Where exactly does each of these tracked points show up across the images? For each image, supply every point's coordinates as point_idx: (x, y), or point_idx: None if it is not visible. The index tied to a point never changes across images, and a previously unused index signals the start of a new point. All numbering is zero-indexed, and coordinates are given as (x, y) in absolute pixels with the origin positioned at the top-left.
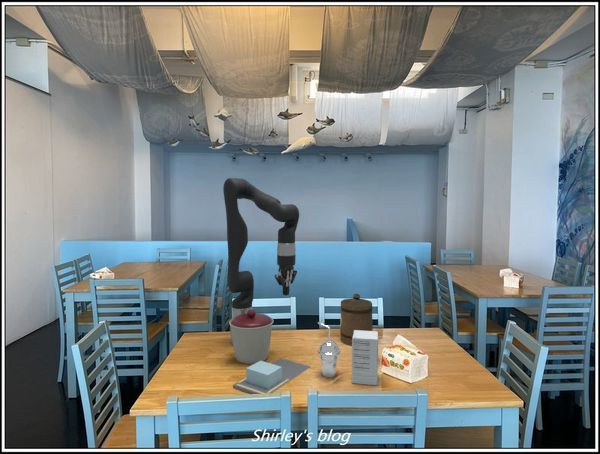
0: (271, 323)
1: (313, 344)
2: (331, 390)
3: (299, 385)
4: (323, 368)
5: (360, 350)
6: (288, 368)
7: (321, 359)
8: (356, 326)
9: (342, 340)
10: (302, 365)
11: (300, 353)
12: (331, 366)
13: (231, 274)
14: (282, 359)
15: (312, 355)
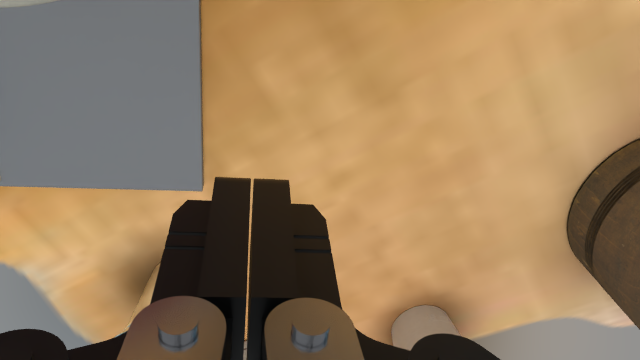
0: (38, 2)
1: (526, 34)
2: (83, 330)
3: (23, 220)
4: (137, 304)
5: None
6: (107, 106)
7: (124, 328)
8: (629, 307)
9: (605, 170)
10: (187, 150)
11: (360, 34)
12: None
13: None
14: (188, 7)
15: (364, 109)
